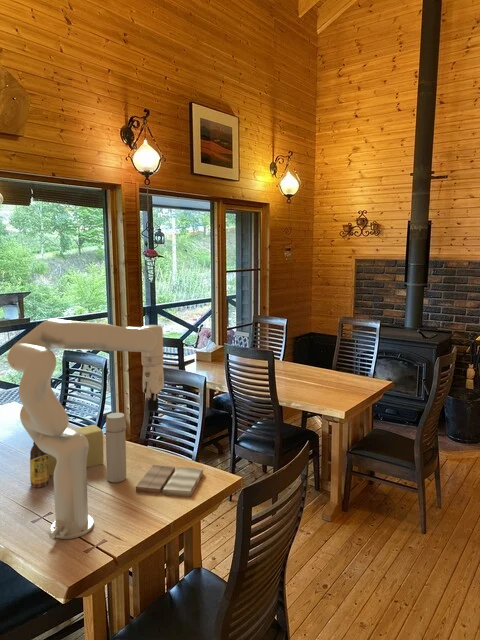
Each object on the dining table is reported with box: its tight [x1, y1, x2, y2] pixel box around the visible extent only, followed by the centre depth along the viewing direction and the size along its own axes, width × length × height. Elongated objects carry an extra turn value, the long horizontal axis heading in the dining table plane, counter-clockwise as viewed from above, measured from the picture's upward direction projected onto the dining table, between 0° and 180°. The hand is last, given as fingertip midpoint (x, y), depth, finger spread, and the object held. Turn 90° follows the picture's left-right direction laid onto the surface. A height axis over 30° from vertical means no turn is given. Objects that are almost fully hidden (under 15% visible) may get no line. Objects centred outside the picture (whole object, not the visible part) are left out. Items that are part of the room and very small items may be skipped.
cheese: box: [48, 424, 105, 477], centre depth 188 cm, size 22×10×15 cm, turn 130°
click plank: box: [162, 466, 204, 497], centre depth 177 cm, size 18×10×2 cm, turn 170°
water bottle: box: [104, 412, 127, 483], centre depth 180 cm, size 9×8×25 cm
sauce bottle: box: [29, 441, 50, 489], centre depth 174 cm, size 6×6×20 cm
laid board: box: [135, 464, 176, 495], centre depth 179 cm, size 18×9×2 cm, turn 170°
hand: (153, 410), depth 171 cm, fingers closed
